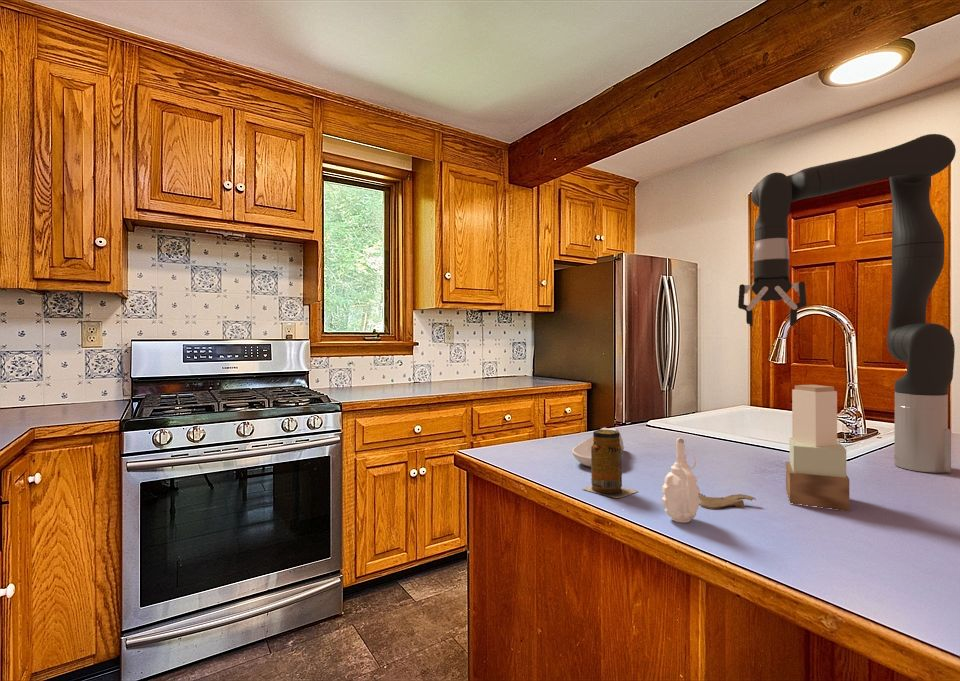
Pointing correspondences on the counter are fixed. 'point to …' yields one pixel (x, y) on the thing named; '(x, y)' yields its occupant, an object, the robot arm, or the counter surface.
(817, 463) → the middle block
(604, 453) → the condiment
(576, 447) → the spoon rest
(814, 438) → the tea tin
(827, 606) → the counter surface
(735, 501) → the jawbone
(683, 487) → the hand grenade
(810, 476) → the bottom block
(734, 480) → the counter surface
